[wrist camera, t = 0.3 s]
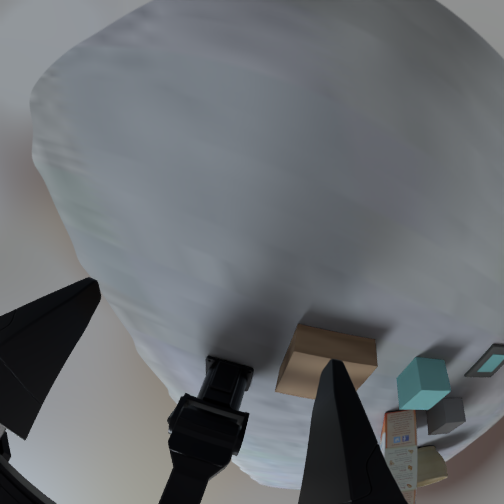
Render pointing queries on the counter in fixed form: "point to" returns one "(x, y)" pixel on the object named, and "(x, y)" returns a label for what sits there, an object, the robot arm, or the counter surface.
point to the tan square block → (323, 359)
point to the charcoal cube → (445, 416)
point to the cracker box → (401, 450)
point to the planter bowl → (430, 466)
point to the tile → (488, 362)
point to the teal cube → (422, 384)
